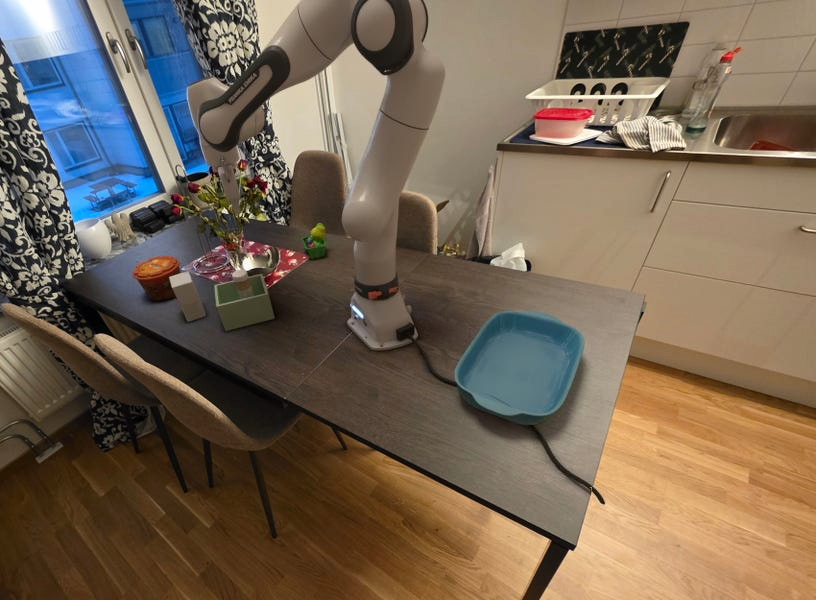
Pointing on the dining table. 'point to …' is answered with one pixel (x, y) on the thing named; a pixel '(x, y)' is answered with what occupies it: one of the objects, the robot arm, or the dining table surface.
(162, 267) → the food container
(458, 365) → the casserole dish
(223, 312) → the bin
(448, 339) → the dining table surface
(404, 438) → the dining table surface
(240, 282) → the sprinkles bottle
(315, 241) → the fruit basket
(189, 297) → the small box
